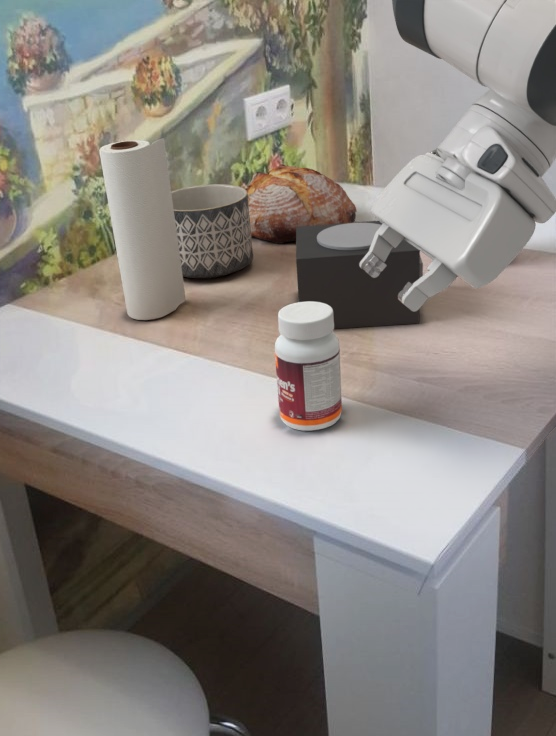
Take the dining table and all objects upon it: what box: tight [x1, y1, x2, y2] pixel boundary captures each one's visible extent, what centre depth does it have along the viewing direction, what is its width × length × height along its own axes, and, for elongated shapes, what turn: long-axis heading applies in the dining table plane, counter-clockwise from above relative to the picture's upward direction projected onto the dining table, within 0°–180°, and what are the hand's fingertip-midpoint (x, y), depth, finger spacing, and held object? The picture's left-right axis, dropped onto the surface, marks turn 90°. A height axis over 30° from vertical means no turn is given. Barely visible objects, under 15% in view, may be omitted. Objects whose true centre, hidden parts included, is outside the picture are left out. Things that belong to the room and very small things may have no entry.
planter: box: [171, 183, 254, 280], centre depth 124 cm, size 13×13×10 cm
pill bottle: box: [274, 301, 343, 431], centre depth 84 cm, size 6×6×11 cm
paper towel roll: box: [98, 137, 187, 321], centre depth 109 cm, size 7×6×21 cm
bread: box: [244, 163, 358, 244], centre depth 137 cm, size 16×20×10 cm
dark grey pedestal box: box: [295, 220, 424, 330], centre depth 107 cm, size 15×12×9 cm
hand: (384, 288), depth 81 cm, fingers open, 8 cm apart
